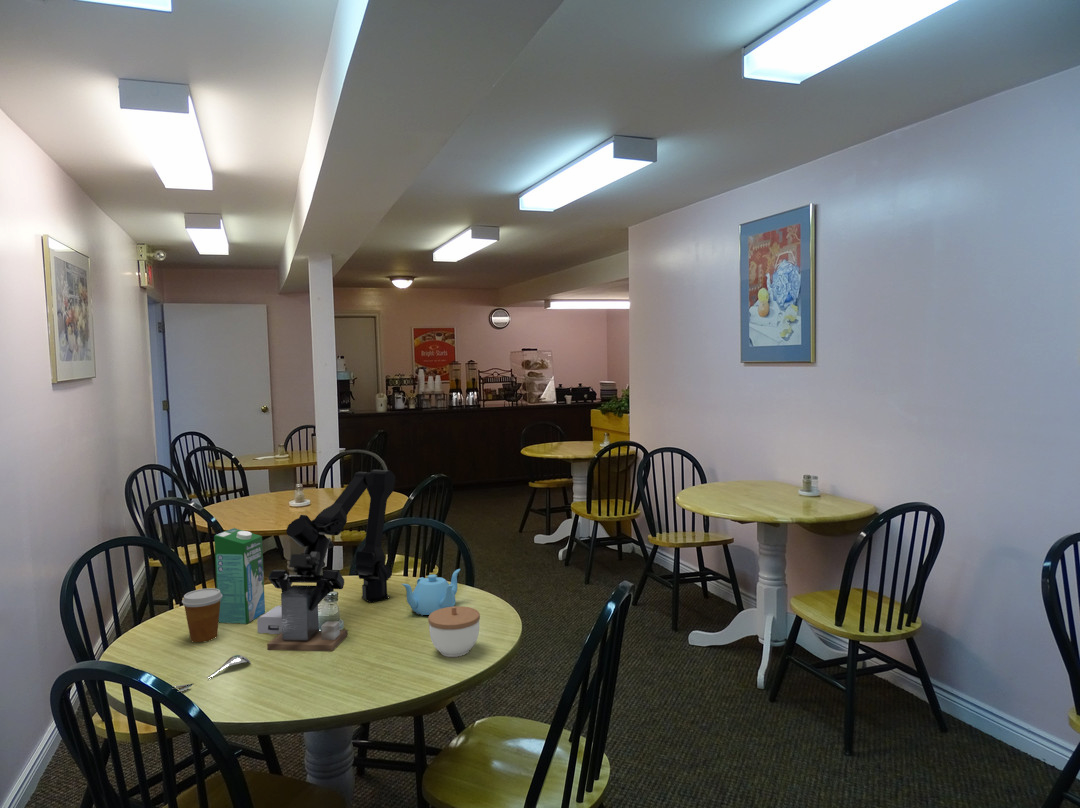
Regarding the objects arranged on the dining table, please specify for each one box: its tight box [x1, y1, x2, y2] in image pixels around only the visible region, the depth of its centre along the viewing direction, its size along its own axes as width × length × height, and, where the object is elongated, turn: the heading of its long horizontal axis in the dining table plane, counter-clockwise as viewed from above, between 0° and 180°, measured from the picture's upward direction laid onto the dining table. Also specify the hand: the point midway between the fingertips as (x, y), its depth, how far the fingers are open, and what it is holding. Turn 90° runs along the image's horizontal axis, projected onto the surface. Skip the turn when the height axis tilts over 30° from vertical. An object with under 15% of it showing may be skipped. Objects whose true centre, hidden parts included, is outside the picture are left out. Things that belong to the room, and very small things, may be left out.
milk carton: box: [213, 527, 266, 625], centre depth 191 cm, size 9×9×25 cm
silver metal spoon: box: [173, 654, 252, 692], centre depth 154 cm, size 20×4×5 cm
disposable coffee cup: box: [181, 587, 222, 643], centre depth 177 cm, size 10×10×12 cm
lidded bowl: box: [427, 605, 481, 658], centre depth 166 cm, size 13×13×11 cm
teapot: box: [401, 568, 461, 616], centre depth 195 cm, size 15×15×10 cm
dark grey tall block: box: [280, 584, 320, 641], centre depth 173 cm, size 7×7×12 cm
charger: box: [256, 605, 282, 635], centre depth 187 cm, size 5×9×15 cm
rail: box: [266, 620, 349, 652], centre depth 173 cm, size 17×10×5 cm, turn 85°
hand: (297, 609), depth 172 cm, fingers open, 7 cm apart
